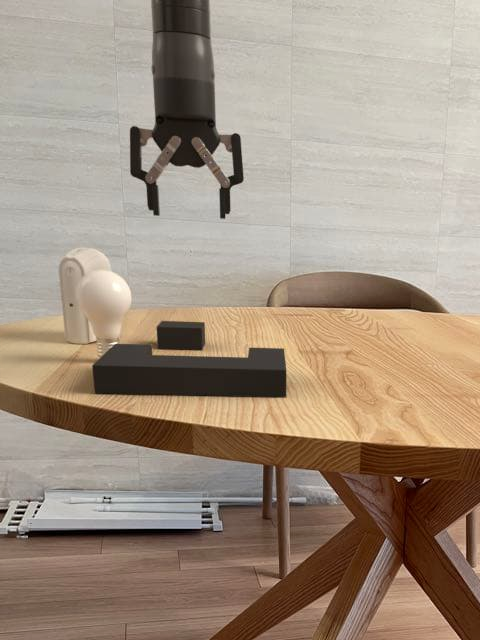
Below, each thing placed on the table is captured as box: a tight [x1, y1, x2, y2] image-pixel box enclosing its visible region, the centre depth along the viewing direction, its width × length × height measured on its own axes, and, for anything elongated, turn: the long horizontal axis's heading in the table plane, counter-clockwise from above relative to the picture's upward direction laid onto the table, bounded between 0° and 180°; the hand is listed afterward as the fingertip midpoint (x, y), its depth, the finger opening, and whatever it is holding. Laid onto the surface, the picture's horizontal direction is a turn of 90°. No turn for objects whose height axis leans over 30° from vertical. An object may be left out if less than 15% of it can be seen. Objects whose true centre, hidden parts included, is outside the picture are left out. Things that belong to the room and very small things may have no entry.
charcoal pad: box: [91, 343, 287, 398], centre depth 94 cm, size 20×14×3 cm
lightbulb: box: [76, 269, 133, 359], centre depth 101 cm, size 6×6×11 cm
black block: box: [156, 320, 206, 351], centre depth 116 cm, size 6×6×3 cm
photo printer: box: [58, 246, 112, 345], centre depth 116 cm, size 10×4×12 cm, turn 177°
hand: (189, 217), depth 110 cm, fingers open, 8 cm apart
